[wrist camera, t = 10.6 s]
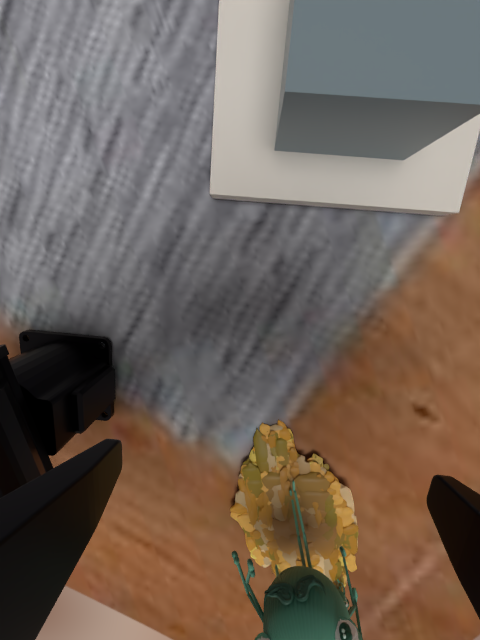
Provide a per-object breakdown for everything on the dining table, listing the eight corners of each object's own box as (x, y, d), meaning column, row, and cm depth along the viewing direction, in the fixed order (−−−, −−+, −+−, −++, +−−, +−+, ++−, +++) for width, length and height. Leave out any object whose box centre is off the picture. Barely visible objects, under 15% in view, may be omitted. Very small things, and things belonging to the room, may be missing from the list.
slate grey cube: (274, 150, 16) (284, 91, 10) (290, -9, 14) (314, -195, 8) (403, 160, 15) (493, 105, 10) (436, -1, 14) (569, -186, 8)
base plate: (213, 198, 18) (199, 181, 13) (226, -47, 15) (214, -171, 10) (441, 215, 17) (504, 204, 13) (501, -35, 14) (608, -160, 10)
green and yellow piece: (261, 600, 26) (251, 1008, 11) (213, 417, 24) (127, 627, 9) (368, 589, 25) (512, 1033, 10) (327, 396, 23) (431, 601, 8)
